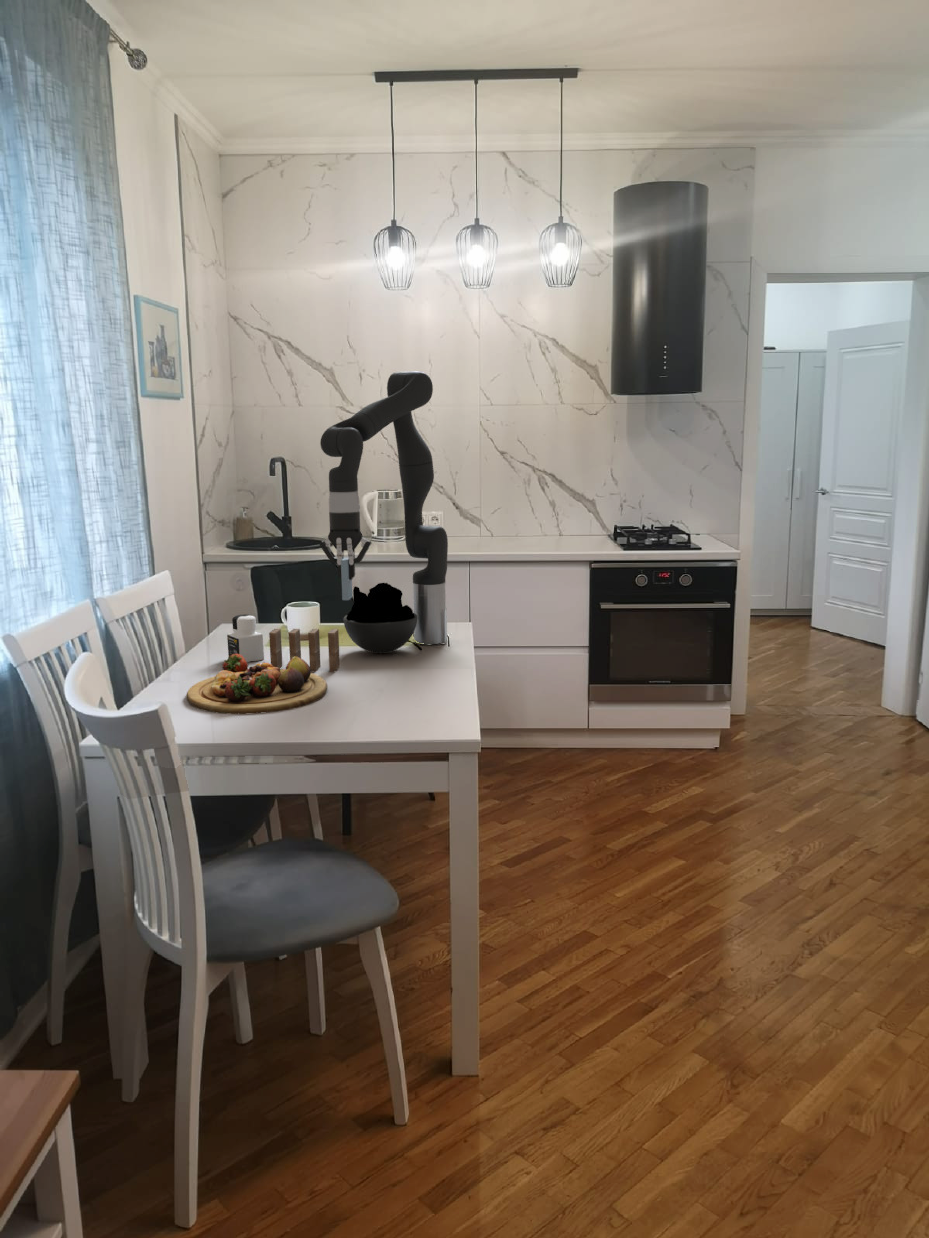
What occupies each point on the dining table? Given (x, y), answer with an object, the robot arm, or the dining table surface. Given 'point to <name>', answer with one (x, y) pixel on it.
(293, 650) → the tile
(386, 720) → the dining table surface
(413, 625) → the bowl of black rocks
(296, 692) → the wooden plate with food
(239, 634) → the medicine bottle
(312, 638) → the tile
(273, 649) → the brown wooden block
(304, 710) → the dining table surface
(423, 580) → the robot arm
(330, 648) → the tile
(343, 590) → the tile
